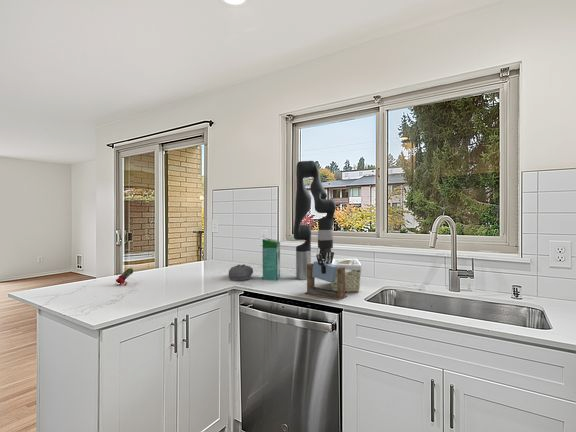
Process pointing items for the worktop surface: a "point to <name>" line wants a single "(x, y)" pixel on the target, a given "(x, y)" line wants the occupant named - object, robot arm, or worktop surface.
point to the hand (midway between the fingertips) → (325, 272)
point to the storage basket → (348, 274)
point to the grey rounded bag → (240, 272)
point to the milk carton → (271, 259)
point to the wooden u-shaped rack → (325, 292)
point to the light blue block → (329, 274)
